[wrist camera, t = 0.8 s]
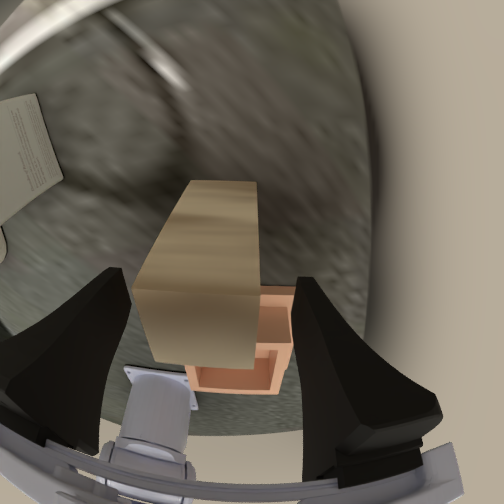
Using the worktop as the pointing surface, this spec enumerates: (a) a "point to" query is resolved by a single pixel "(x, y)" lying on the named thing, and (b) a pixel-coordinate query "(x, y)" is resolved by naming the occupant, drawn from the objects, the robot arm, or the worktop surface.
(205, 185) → the birch peg
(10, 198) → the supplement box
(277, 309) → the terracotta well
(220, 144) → the worktop surface
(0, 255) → the paper towel roll
